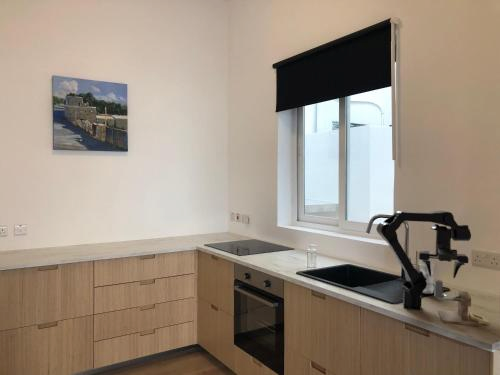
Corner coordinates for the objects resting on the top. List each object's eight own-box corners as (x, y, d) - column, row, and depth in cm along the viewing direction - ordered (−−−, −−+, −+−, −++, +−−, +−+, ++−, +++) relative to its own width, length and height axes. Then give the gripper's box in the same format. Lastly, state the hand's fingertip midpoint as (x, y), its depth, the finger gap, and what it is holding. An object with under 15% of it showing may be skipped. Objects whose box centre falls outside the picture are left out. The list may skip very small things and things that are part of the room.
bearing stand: (442, 322, 157) (443, 296, 156) (438, 312, 168) (438, 288, 168) (480, 326, 153) (481, 300, 153) (473, 316, 164) (474, 291, 164)
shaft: (435, 300, 162) (435, 281, 161) (434, 297, 164) (434, 279, 164) (463, 302, 158) (464, 283, 158) (462, 300, 161) (462, 281, 161)
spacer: (471, 316, 156) (488, 322, 155) (468, 311, 162) (484, 317, 160) (470, 318, 157) (487, 324, 155) (467, 313, 162) (483, 319, 161)
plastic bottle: (434, 296, 190) (435, 253, 190) (418, 294, 193) (419, 252, 192) (433, 292, 196) (434, 251, 196) (418, 290, 199) (419, 249, 198)
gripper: (421, 242, 168) (420, 279, 169) (471, 245, 163) (470, 284, 163) (418, 238, 179) (417, 273, 180) (466, 241, 173) (465, 277, 174)
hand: (442, 277), depth 174 cm, fingers open, 9 cm apart
